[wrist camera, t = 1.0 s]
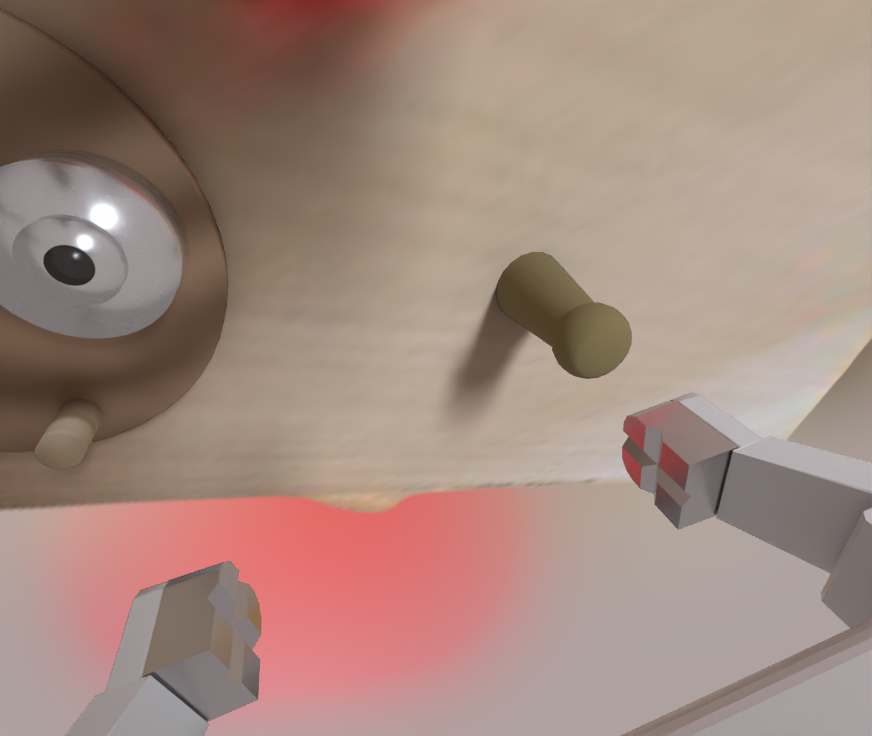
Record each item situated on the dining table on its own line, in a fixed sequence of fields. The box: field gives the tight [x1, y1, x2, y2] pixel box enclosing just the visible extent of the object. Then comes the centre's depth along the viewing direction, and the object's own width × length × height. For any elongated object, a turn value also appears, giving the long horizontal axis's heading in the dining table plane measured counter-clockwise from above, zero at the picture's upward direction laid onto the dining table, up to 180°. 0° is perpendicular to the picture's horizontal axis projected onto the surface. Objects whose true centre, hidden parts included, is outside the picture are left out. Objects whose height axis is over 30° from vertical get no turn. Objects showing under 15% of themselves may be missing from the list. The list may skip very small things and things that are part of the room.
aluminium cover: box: [0, 150, 188, 338], centre depth 24 cm, size 9×9×4 cm
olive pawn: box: [496, 252, 632, 379], centre depth 34 cm, size 6×6×11 cm
